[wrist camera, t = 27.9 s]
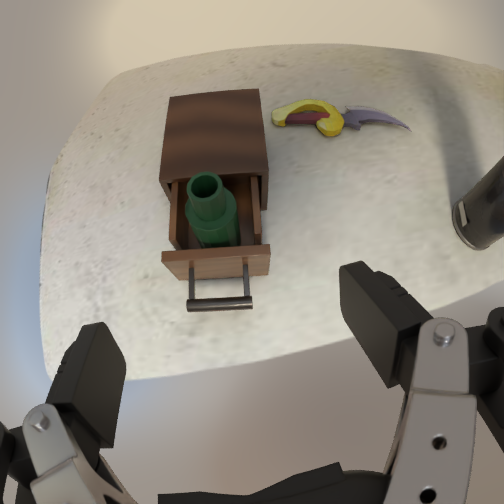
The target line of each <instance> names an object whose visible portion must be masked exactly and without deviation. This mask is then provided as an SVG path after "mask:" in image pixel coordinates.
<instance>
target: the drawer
mask: <svg viewBox="0 0 504 504" xmlns="http://www.w3.org/2000/svg"><path fill="white" fill-rule="evenodd" d="M220 179H221V180H222V184H223V187H224V188H226V189H227V190H229V191H230V192H231V193H232V194H233V196H234V198H235V200H236V205H237V212H238V220H239V227H240V236H241V242H240V246H234V247H219V248H205V249H202V248H201V246H200V244H199V242H198V240H197V238H196V236H195V234H194V232H193V230H192V227H191V225H190V223H189V221H188V219H187V217H186V214H185V205H186V203H187V201H188V198H189V196H188V194H187V184H188V182H189V181H183V182H174V183H172V188H171V204H170V223H169V241H170V242H171V244H172V245H173V246H174V248H175V249H176V251H162V259H161V262H162V263H163V264H164V265H165V266H166V267H167V268H168V269H169V270H170V271H171V273H172V274H173V275H174V276H175V277H176V278H177V279H178V280H189V299H188V300H187V302H186V306H187V311H188V312H207V311H227V310H244V309H253V305H252V296H250V288H249V276H261V275H268V273H269V265H270V256H271V252H270V244H264V245H262V227H261V215H260V203H259V192H258V180H257V176H241V177H228V178H220ZM230 277H243V282H244V296H243V297H226V298H207V299H195V280H197V279H214V278H230Z"/></svg>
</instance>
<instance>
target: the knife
mask: <svg viewBox="0 0 504 504" xmlns="http://www.w3.org/2000/svg"><path fill="white" fill-rule="evenodd" d="M345 107H346V108H347V109H348V110H349V113H347V114H340V113H339V112H338V110H337V109H336V108H335V107H334V106H332V105H330V104H328V103H327V102H325V101H320V100H313V99H304V100H301V101H297V102H295V103H292V104H290V105H287V106H284V107H281V108H278V109H275V110H274V111H273V112H272V121H273V123H274V124H276V125H278V126H283V127H284V126H285V125H286V124H316V125H317V128H318V129H319V130H320V131H321V132H322V133H323V134H324V135H326V136H335V135H337V134H340V132H341V130H342V128H343V126H350V127H352V128H354V129H356V130H360V127H361V125H362V124H363V123H366V122H385V123H391V124H396V125H400V126H403V127H405V128H407V129H408V130H410V128H409V127H408V126H407V125H405V124H404V123H403V122H401V121H400V120H398V119H397V118H395V117H393V116H391V115H390V114H388V113H386V112H383V111H380V110H377V109H373V108H368V107H362V106H345ZM307 110H313V111H317V112H318V113H300V112H303V111H307ZM410 131H411V130H410ZM411 132H412V131H411Z"/></svg>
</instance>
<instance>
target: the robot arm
mask: <svg viewBox="0 0 504 504" xmlns="http://www.w3.org/2000/svg"><path fill="white" fill-rule="evenodd" d="M453 223H454V226H455V229H456V231H457V233H458V235H459V236H460V238H461V239H462V240H463V242H464V243H465V244H466V245H468V246H469V247H471V248H472V249H475V250H484V249H486V248H488V247H489V246H490V245H491V244H493V243H494V242H496V241H497V240H499V239H501V238H502V237H504V156H503V157H502V158H501V159H500V161H499V162H498V163H497V164H496V165H495V166H494V167H493V168H492V169H491V170H490V171H489V172H488V173H487V174H486V175H485V176H484V177H483V178H482V179H481V180H480V181H479V182H478V183H477V184H476V185H475V186H474V187H473V188H472V189H471V190H470V191H469V192H468V193H467V194H466V195H465V196H464V197H463V198H461V199H460V200H459V201H458V202H457V203H456V204H455V206H454V208H453ZM339 283H340V306H341V312H342V315H343V318H344V320H345V322H346V324H347V325H348V327H349V328H350V330H351V331H352V333H353V334H354V336H355V337H356V339H357V341H358V342H359V344H360V345H361V347H362V348H363V350H364V351H365V353H366V355H367V356H368V358H369V359H370V361H371V362H372V364H373V366H374V367H375V369H376V370H377V372H378V374H379V375H380V377H381V378H382V380H383V382H384V383H385V385H386V387H387V388H391V387H394V386H396V385H398V384H400V385H401V387H402V388H403V390H404V391H405V394H404V398H403V403H402V408H401V412H400V416H399V421H398V424H397V428H396V432H395V436H394V440H393V443H392V447H391V450H390V453H389V456H388V459H387V461H386V464H385V467H384V470H383V473H380V472H374V471H365V470H349V471H342V469H341V466H340V463H339V462H336V463H333V464H330V465H327V466H324V467H321V468H317V469H314V470H311V471H307V472H303V473H299V474H296V475H293V476H291V477H289V478H287V479H285V480H283V481H281V482H278V483H276V484H274V485H272V486H270V487H267V488H265V489H263V490H261V491H258V492H256V493H253V494H251V495H228V494H217V493H208V492H189V493H175V494H158V504H465V502H466V497H467V492H468V487H469V481H470V474H471V468H472V461H473V453H474V443H475V430H476V413H477V411H478V412H479V414H480V415H481V416H482V418H483V420H484V421H485V423H486V425H487V426H488V428H489V429H490V431H491V433H492V434H493V436H494V437H495V439H496V441H497V442H498V444H499V446H500V447H501V449H502V451H503V452H504V307H499V308H495V309H494V310H492V311H491V312H490V314H489V316H488V319H487V322H486V325H481V326H476V327H469V328H464V327H463V326H462V325H461V324H460V323H459V322H457V321H455V320H453V319H449V318H433V317H432V316H431V315H430V314H429V313H428V312H427V311H426V310H425V309H424V308H423V307H422V306H421V305H420V304H419V303H418V302H417V301H416V300H415V299H414V298H413V297H412V296H411V295H410V294H408V292H407V291H406V290H405V289H404V288H403V287H401V285H400V284H399V283H398V282H397V281H396V280H395V279H394V278H393V277H392V276H390V275H387V274H385V273H383V272H381V271H377V272H373V271H372V270H371V269H370V268H369V267H368V266H367V265H366V264H365V263H364V262H363V261H358V262H354V263H350V264H347V265H343V266H341V267H340V269H339ZM125 375H126V362H125V359H124V356H123V354H122V352H121V350H120V349H119V347H118V345H117V343H116V341H115V340H114V338H113V336H112V334H111V332H110V330H109V328H108V327H107V325H106V324H105V323H104V322H99V323H93V324H88V325H84V326H82V328H81V330H80V332H79V335H78V337H77V339H76V341H74V342H73V343H72V345H71V346H70V347H69V348H68V349H67V350H66V352H65V354H64V356H63V358H62V361H61V365H60V366H59V368H58V370H57V374H56V375H55V378H54V380H53V383H52V386H51V388H50V391H49V393H48V397H47V399H46V402H45V404H40V405H38V406H36V407H34V408H33V409H32V410H31V411H29V413H28V414H27V415H26V417H25V419H24V421H23V425H22V426H20V427H17V428H13V429H10V430H8V429H7V428H6V427H5V426H4V425H3V424H2V423H1V422H0V504H4V503H3V493H4V487H5V483H6V478H7V474H8V475H9V476H10V477H11V478H13V479H14V480H15V481H17V482H18V488H17V495H16V500H15V504H138V503H137V502H136V501H135V500H134V499H133V498H132V497H131V496H130V494H129V493H128V492H127V491H126V489H125V488H124V486H123V485H122V484H121V482H120V481H119V479H118V478H117V476H116V475H115V474H114V472H113V471H112V469H111V468H110V466H109V465H108V463H107V462H106V460H105V459H104V457H103V456H101V454H99V451H100V448H113V446H114V439H115V432H116V426H117V419H118V413H119V407H120V402H121V396H122V391H123V385H124V380H125Z"/></svg>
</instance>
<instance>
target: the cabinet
mask: <svg viewBox="0 0 504 504" xmlns="http://www.w3.org/2000/svg"><path fill="white" fill-rule="evenodd" d="M200 172H212V173H214V174H217V175H218V176H219V178H228V177H241V176H257V180H258V192H259V203H260V210H267V198H268V177H269V169H268V160H267V151H266V143H265V134H264V126H263V118H262V110H261V102H260V94H259V89H242V90H228V91H216V92H207V93H198V94H189V95H182V96H175V97H170V99H169V106H168V112H167V119H166V126H165V133H164V140H163V148H162V156H161V165H160V175H159V182H160V184H161V186H162V188H163V190H164V192H165V194H166V196H167V197H168V199H169V201H170V203H171V188H172V183H174V182H183V181H190V179H191V178H192V177H193V176H194V175H196V174H198V173H200Z"/></svg>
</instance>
